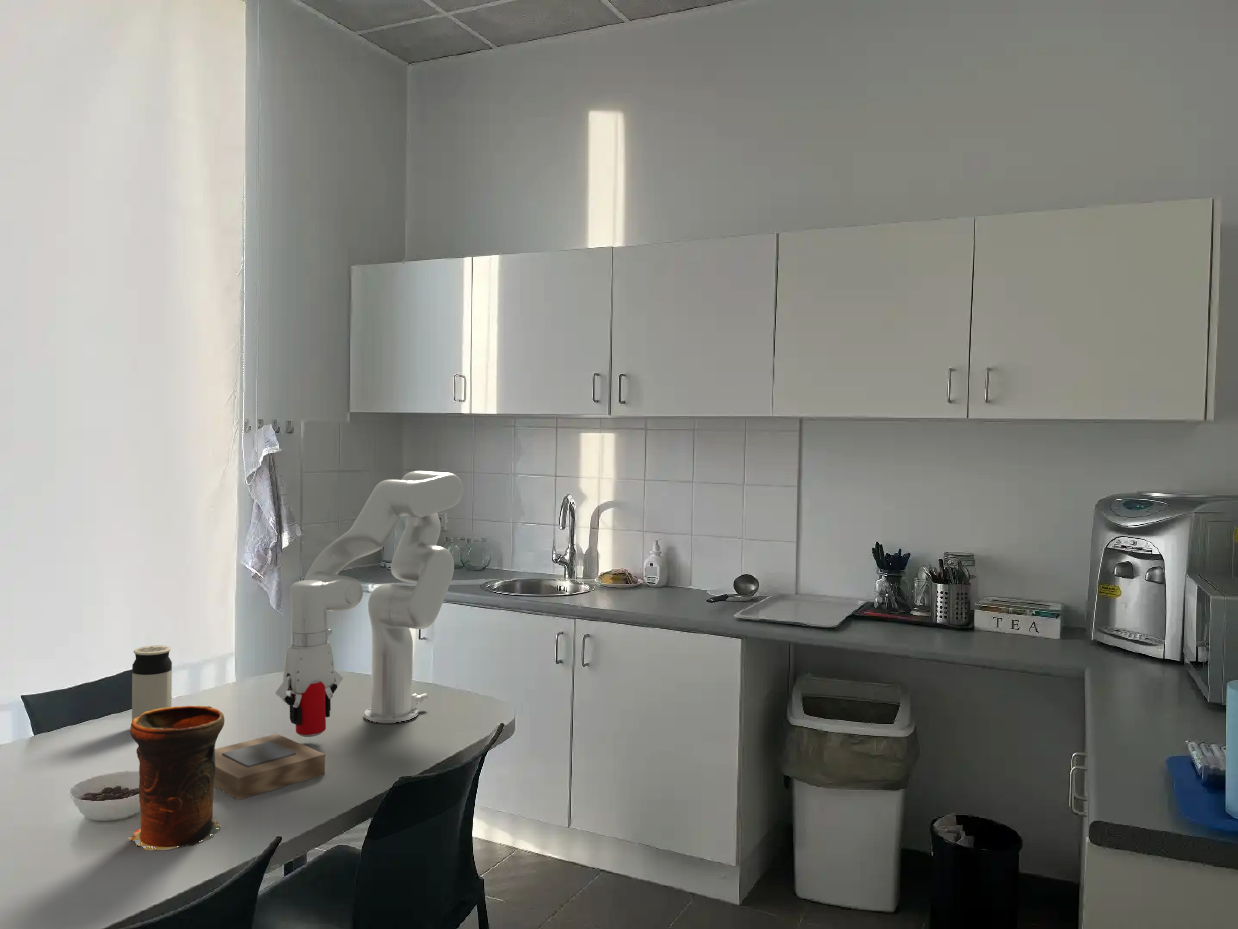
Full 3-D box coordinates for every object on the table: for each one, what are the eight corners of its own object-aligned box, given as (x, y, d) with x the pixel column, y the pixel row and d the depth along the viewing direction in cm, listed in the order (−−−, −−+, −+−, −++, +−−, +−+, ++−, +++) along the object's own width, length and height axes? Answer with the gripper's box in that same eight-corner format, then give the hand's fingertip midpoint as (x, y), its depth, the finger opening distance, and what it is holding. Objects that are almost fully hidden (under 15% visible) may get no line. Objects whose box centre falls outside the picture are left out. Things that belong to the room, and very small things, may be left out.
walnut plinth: (276, 752, 200) (277, 732, 200) (324, 774, 188) (325, 752, 188) (192, 775, 186) (192, 753, 186) (238, 799, 174) (238, 776, 174)
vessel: (148, 814, 167) (152, 702, 166) (232, 816, 168) (236, 704, 167) (110, 851, 152) (114, 728, 151) (202, 853, 153) (206, 731, 152)
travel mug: (170, 732, 211) (170, 652, 210) (130, 735, 208) (130, 654, 207) (172, 721, 218) (173, 644, 218) (133, 724, 216) (134, 646, 215)
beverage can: (315, 726, 210) (314, 673, 210) (331, 732, 206) (330, 678, 206) (290, 734, 206) (289, 679, 205) (306, 740, 202) (305, 685, 201)
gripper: (334, 628, 214) (335, 706, 215) (262, 643, 200) (264, 726, 202) (353, 633, 209) (354, 713, 210) (281, 649, 196) (283, 734, 197)
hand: (310, 719), depth 206 cm, fingers closed on beverage can, 6 cm apart
